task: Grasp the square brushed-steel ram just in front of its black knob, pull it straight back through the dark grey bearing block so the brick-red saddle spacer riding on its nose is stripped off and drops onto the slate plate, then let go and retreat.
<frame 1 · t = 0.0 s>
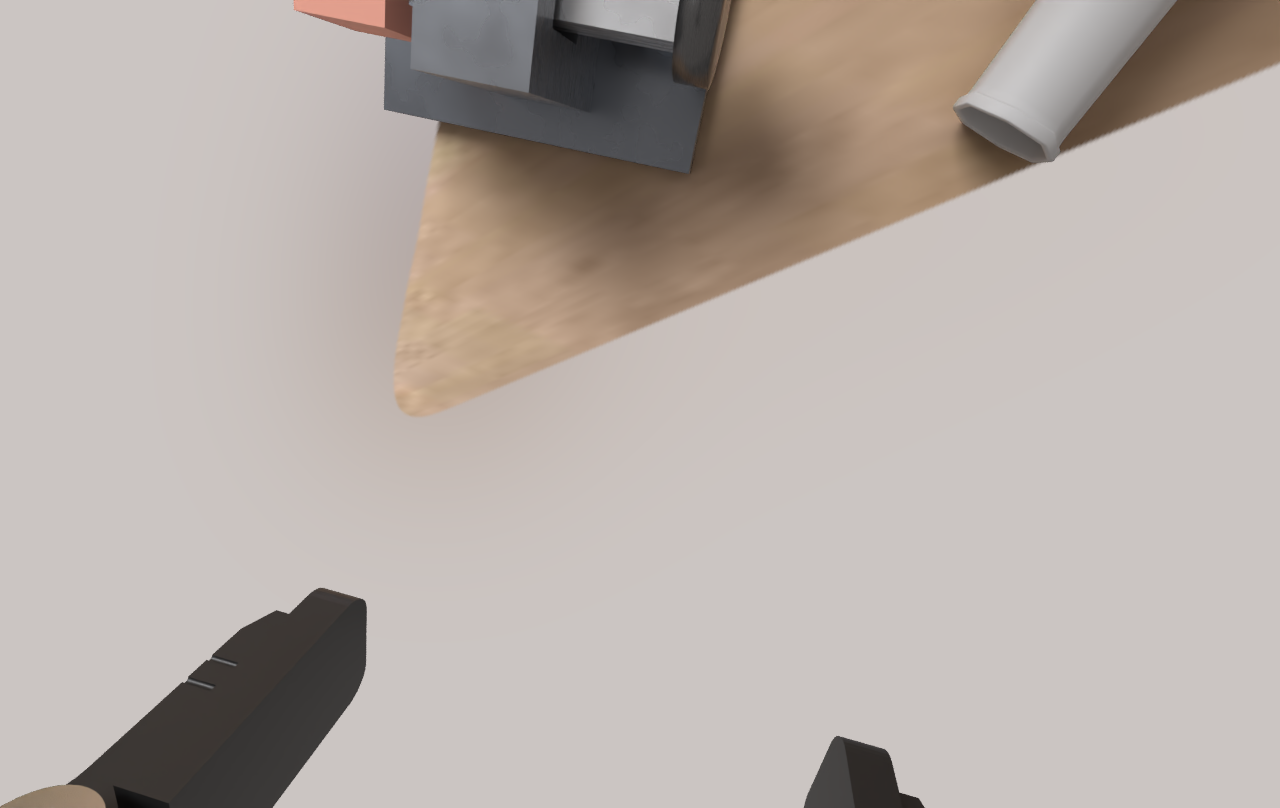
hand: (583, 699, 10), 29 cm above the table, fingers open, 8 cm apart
bearing block: (562, 13, 32), on the table
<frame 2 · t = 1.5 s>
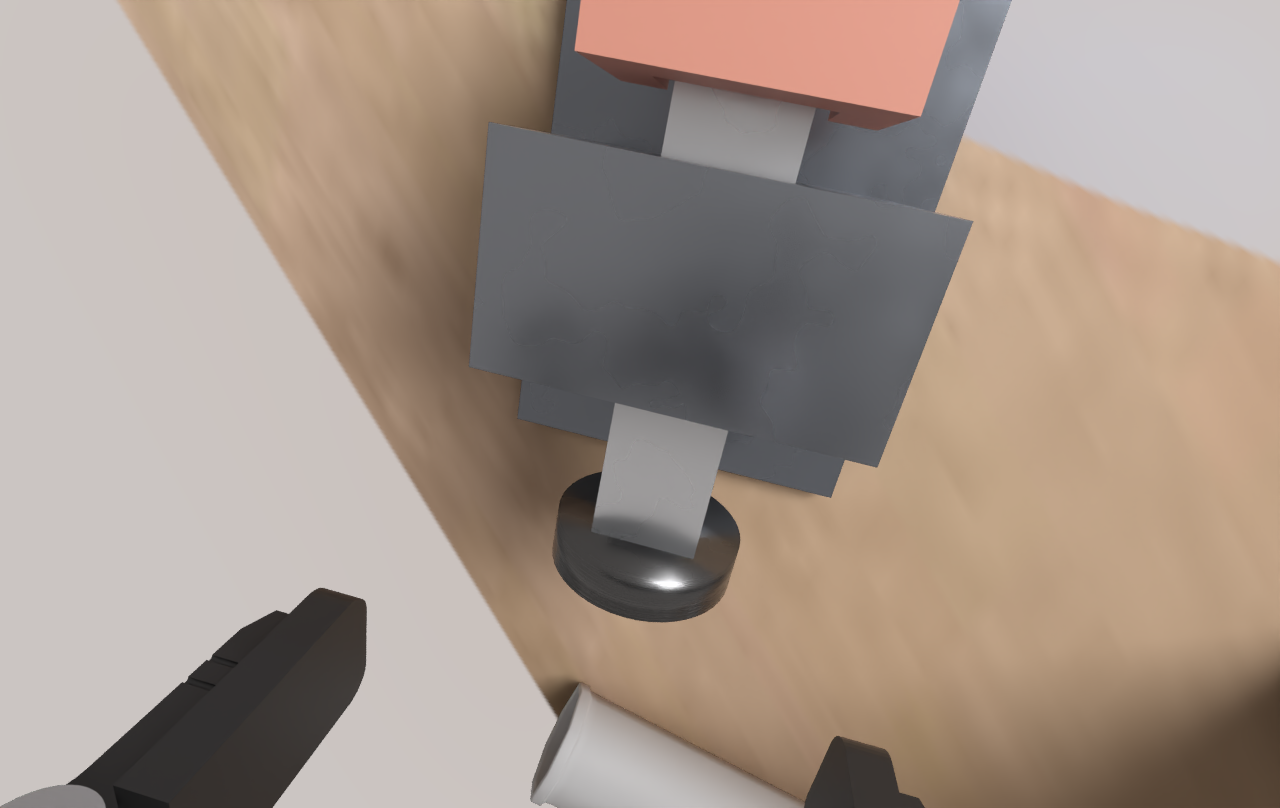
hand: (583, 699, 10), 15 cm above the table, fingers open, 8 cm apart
shaft: (706, 273, 16), point 7 cm above the table, slide at 0.0 cm, touching spacer
tube: (780, 800, 32), on the table
bearing block: (721, 242, 22), on the table
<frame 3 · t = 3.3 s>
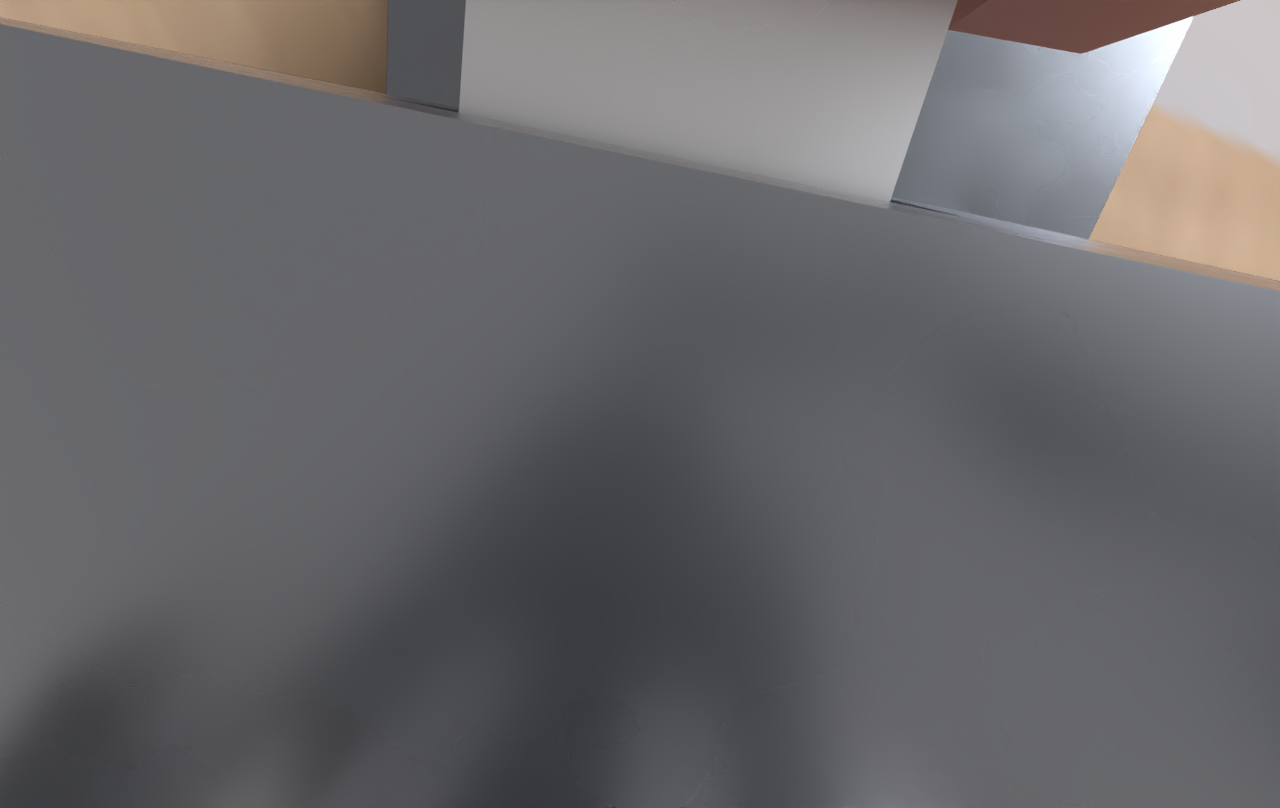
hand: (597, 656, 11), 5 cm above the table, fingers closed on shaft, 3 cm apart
shaft: (636, 410, 6), point 7 cm above the table, slide at 0.0 cm, touching gripper, spacer
bearing block: (694, 286, 13), on the table
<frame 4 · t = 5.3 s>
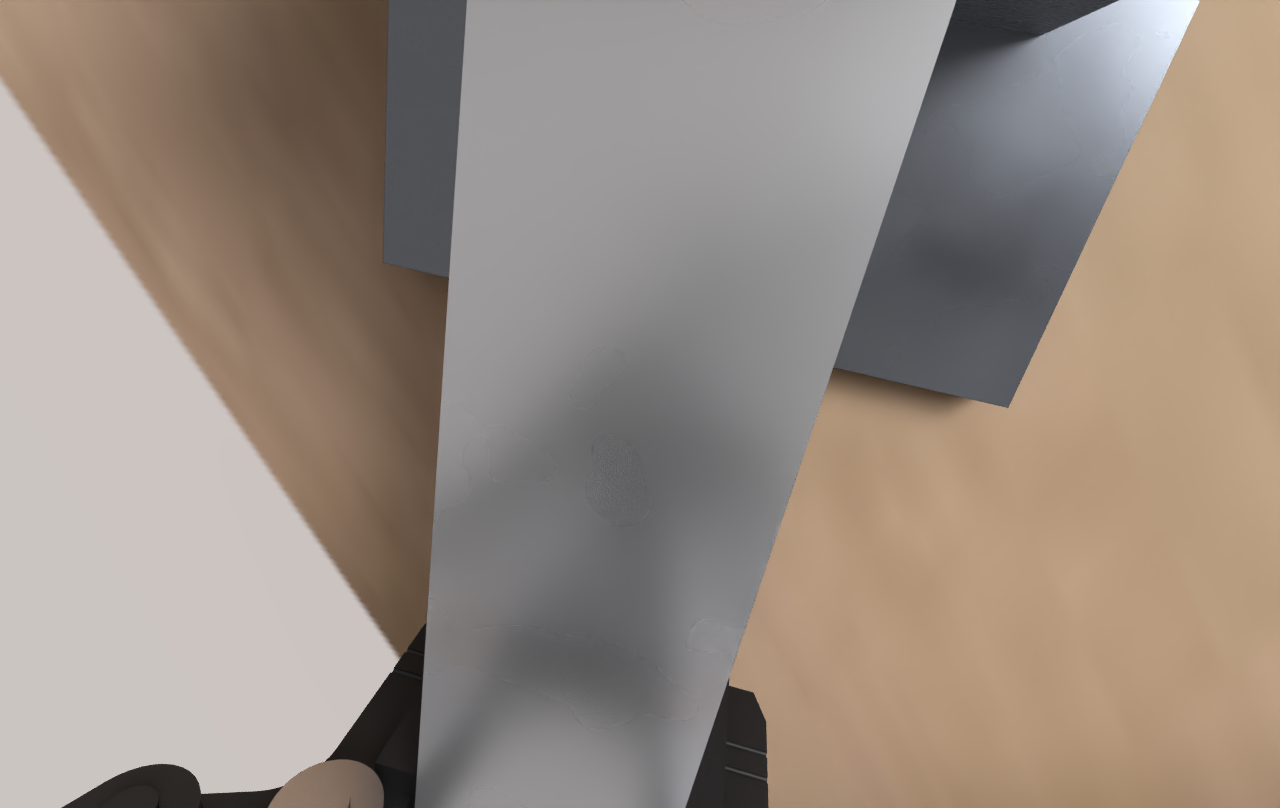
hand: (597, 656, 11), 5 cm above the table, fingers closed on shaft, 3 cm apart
shaft: (637, 407, 6), point 7 cm above the table, slide at 7.7 cm, touching gripper
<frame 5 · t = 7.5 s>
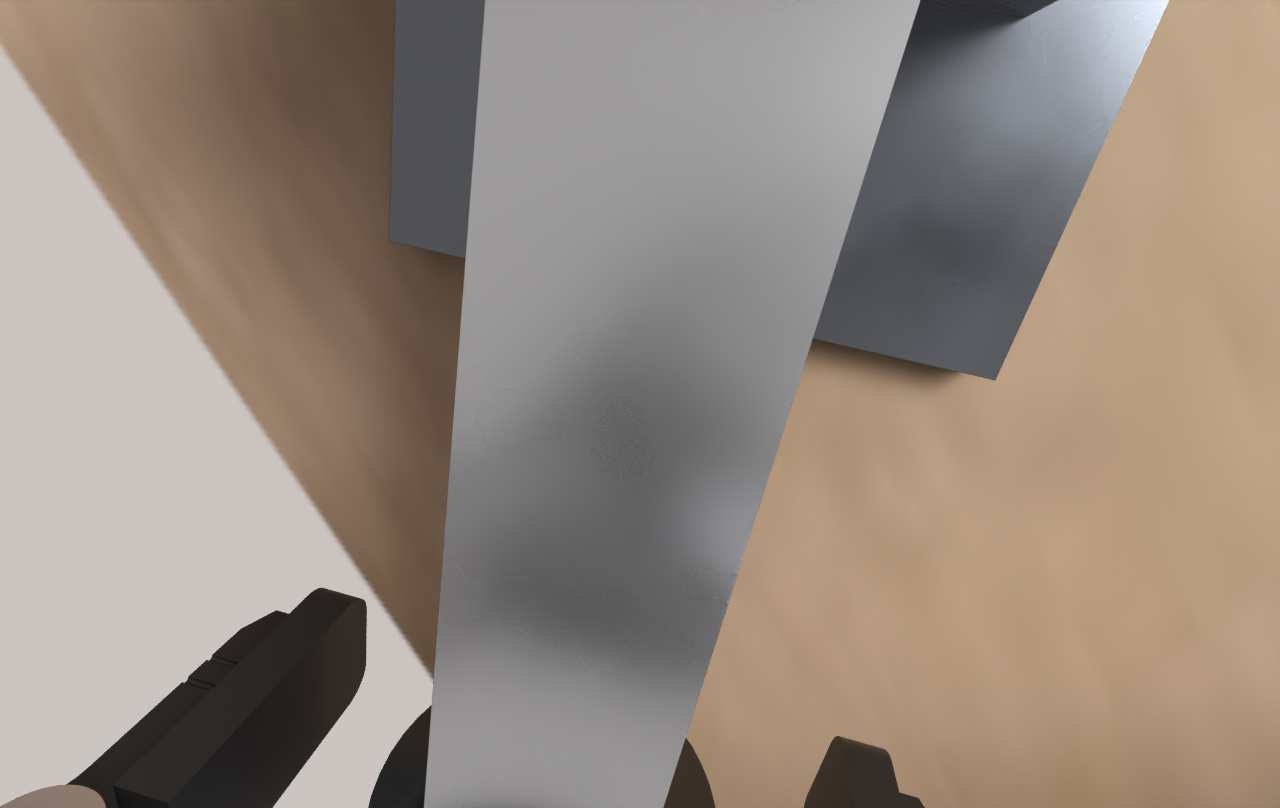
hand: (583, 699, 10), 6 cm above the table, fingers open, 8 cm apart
shaft: (637, 376, 7), point 7 cm above the table, slide at 7.9 cm
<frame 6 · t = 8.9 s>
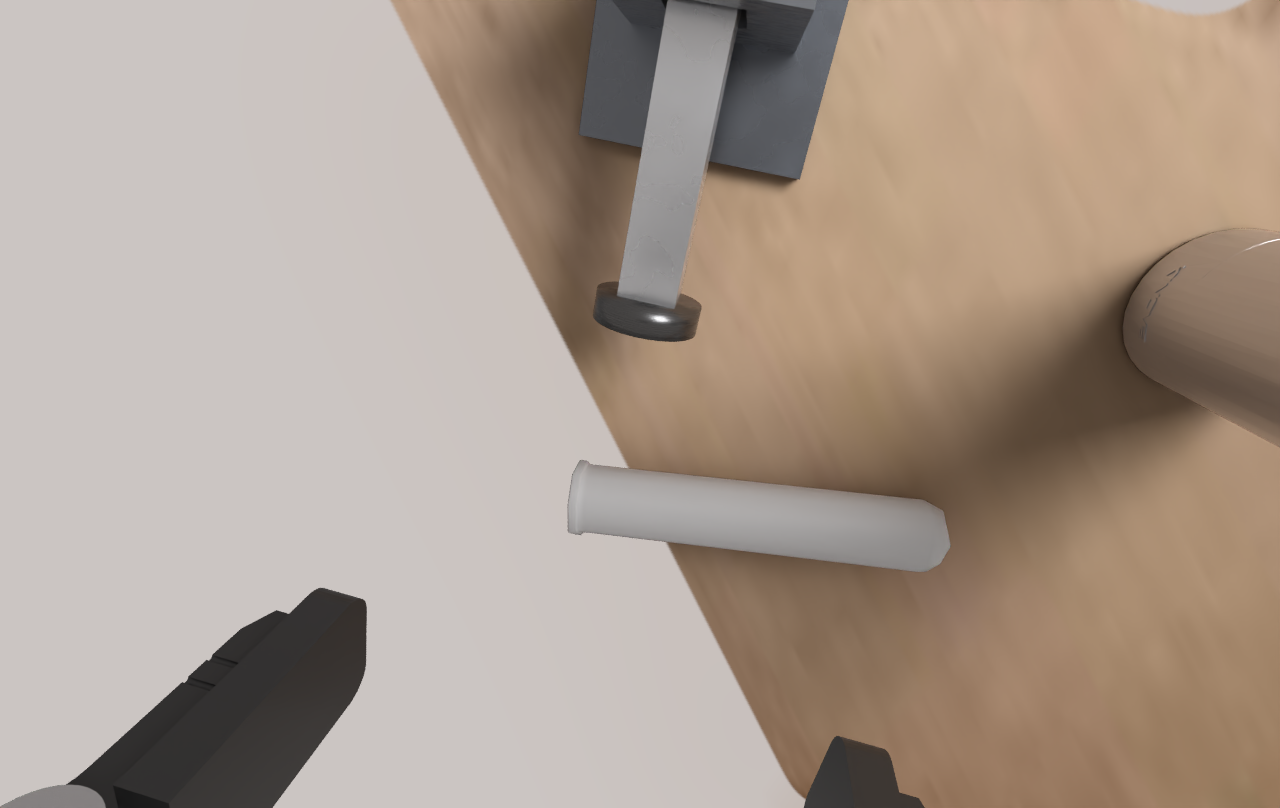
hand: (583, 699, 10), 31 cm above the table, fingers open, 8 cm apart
shaft: (679, 143, 29), point 7 cm above the table, slide at 7.9 cm
tube: (754, 497, 44), on the table
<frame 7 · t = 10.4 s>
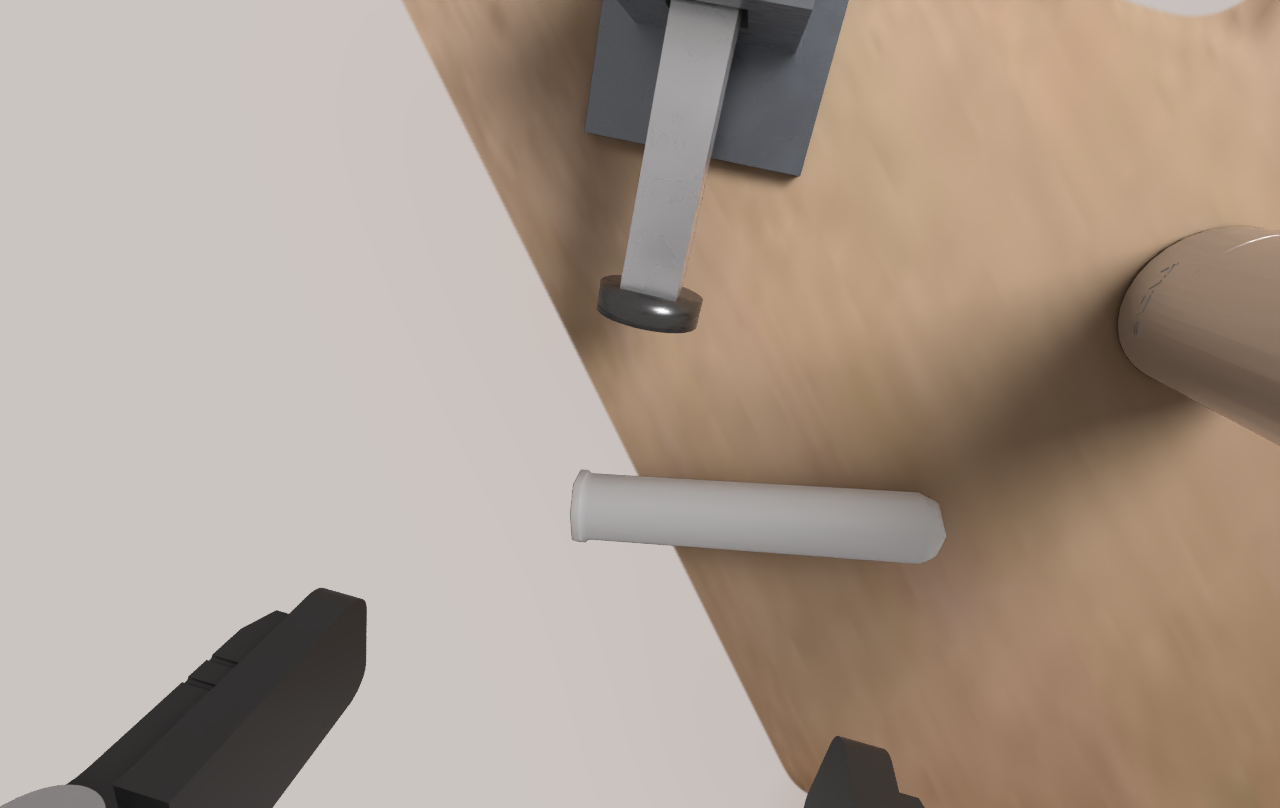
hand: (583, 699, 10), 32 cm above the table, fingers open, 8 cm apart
shaft: (681, 139, 30), point 7 cm above the table, slide at 7.9 cm
tube: (753, 497, 45), on the table
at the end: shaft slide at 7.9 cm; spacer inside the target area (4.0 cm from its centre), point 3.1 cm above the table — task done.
